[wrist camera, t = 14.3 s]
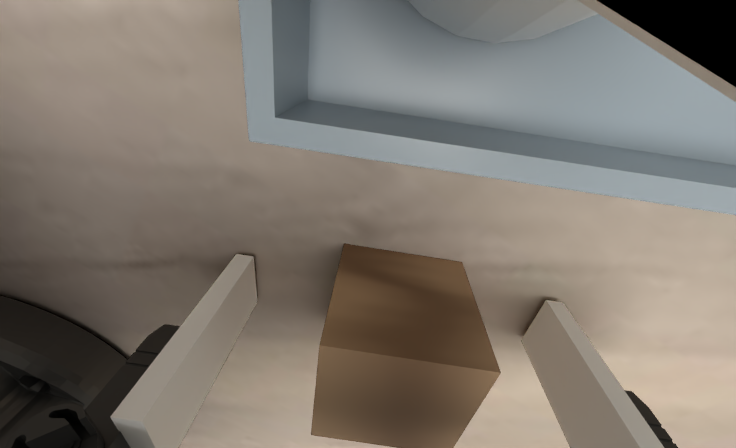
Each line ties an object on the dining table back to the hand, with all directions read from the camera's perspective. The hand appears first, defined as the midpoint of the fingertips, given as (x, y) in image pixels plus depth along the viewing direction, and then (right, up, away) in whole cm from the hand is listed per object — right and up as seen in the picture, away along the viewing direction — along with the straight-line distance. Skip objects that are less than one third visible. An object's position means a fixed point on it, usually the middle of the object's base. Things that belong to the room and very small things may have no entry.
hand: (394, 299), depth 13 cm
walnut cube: (0, 0, 0) cm, 0 cm away
